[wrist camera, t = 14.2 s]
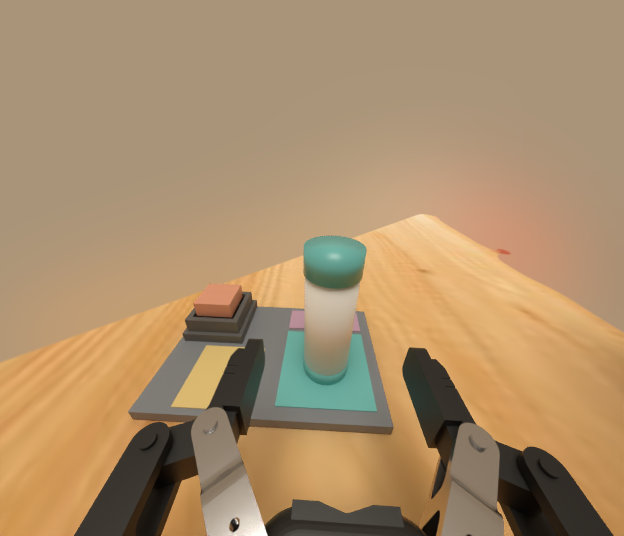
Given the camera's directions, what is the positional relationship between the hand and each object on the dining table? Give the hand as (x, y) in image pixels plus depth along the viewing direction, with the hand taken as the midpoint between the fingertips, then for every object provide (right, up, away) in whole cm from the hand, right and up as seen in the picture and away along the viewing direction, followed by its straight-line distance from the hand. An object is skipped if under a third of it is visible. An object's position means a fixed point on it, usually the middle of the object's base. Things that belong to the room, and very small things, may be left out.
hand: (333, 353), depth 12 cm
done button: (-11, +1, +12) cm, 16 cm away
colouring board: (-5, -4, +10) cm, 12 cm away
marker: (0, -4, +8) cm, 10 cm away
